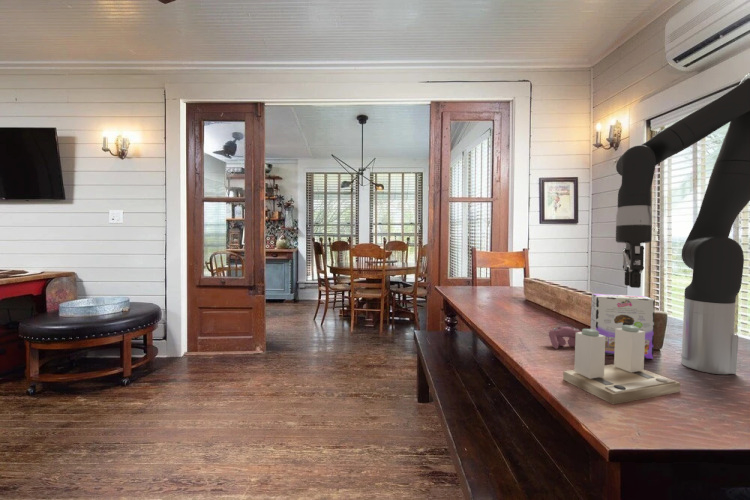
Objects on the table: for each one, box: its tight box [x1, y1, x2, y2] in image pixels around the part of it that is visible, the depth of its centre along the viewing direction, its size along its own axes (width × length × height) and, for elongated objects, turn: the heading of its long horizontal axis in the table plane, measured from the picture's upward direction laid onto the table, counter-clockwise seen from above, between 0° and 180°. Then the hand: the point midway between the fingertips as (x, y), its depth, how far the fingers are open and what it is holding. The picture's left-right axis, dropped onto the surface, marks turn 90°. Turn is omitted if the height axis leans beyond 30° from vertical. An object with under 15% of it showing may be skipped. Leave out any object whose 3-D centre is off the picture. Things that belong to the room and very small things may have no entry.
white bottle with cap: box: [573, 328, 606, 379], centre depth 77 cm, size 4×4×10 cm
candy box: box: [590, 293, 656, 360], centre depth 98 cm, size 14×6×16 cm, turn 71°
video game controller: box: [548, 326, 582, 350], centre depth 103 cm, size 10×5×7 cm, turn 84°
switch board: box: [563, 363, 681, 405], centre depth 77 cm, size 12×19×2 cm, turn 107°
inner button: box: [613, 325, 645, 372], centre depth 81 cm, size 4×4×10 cm
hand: (632, 286), depth 90 cm, fingers open, 8 cm apart
